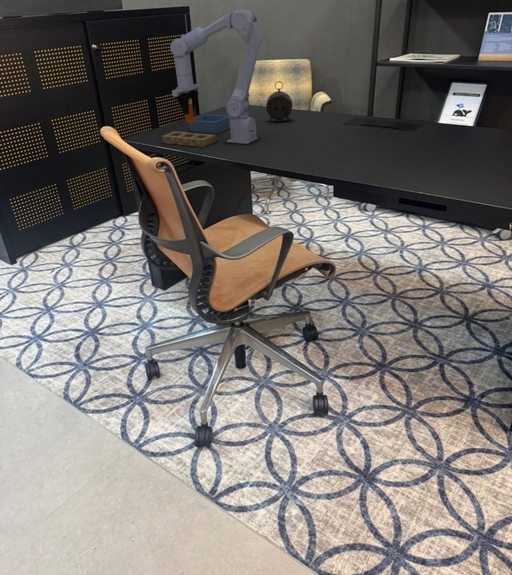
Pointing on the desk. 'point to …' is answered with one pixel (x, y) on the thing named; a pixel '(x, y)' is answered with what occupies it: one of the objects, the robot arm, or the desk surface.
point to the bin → (210, 124)
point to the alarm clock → (279, 105)
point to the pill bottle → (190, 113)
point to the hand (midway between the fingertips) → (189, 112)
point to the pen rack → (189, 139)
